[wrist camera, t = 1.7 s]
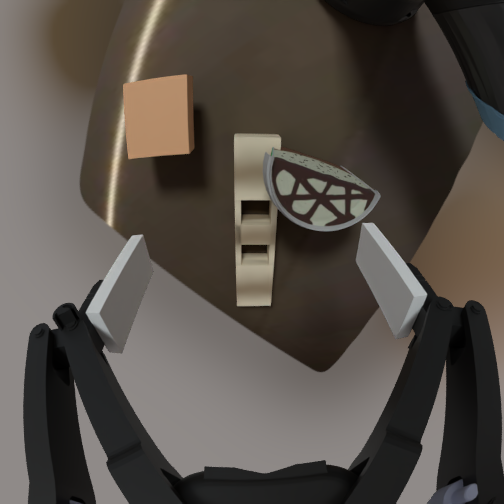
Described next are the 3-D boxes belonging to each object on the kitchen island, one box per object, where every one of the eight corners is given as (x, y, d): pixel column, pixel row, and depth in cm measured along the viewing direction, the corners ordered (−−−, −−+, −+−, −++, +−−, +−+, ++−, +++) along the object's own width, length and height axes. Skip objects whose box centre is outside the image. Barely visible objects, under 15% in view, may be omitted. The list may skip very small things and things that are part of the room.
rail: (235, 133, 30) (234, 137, 27) (277, 134, 30) (280, 137, 27) (237, 292, 43) (237, 306, 40) (269, 292, 43) (270, 305, 40)
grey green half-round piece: (246, 184, 34) (247, 218, 25) (260, 139, 31) (266, 156, 22) (334, 209, 36) (359, 248, 27) (351, 169, 33) (385, 197, 24)
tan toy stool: (145, 85, 26) (123, 84, 20) (198, 78, 26) (186, 74, 20) (148, 146, 30) (128, 158, 24) (199, 142, 30) (189, 153, 25)
